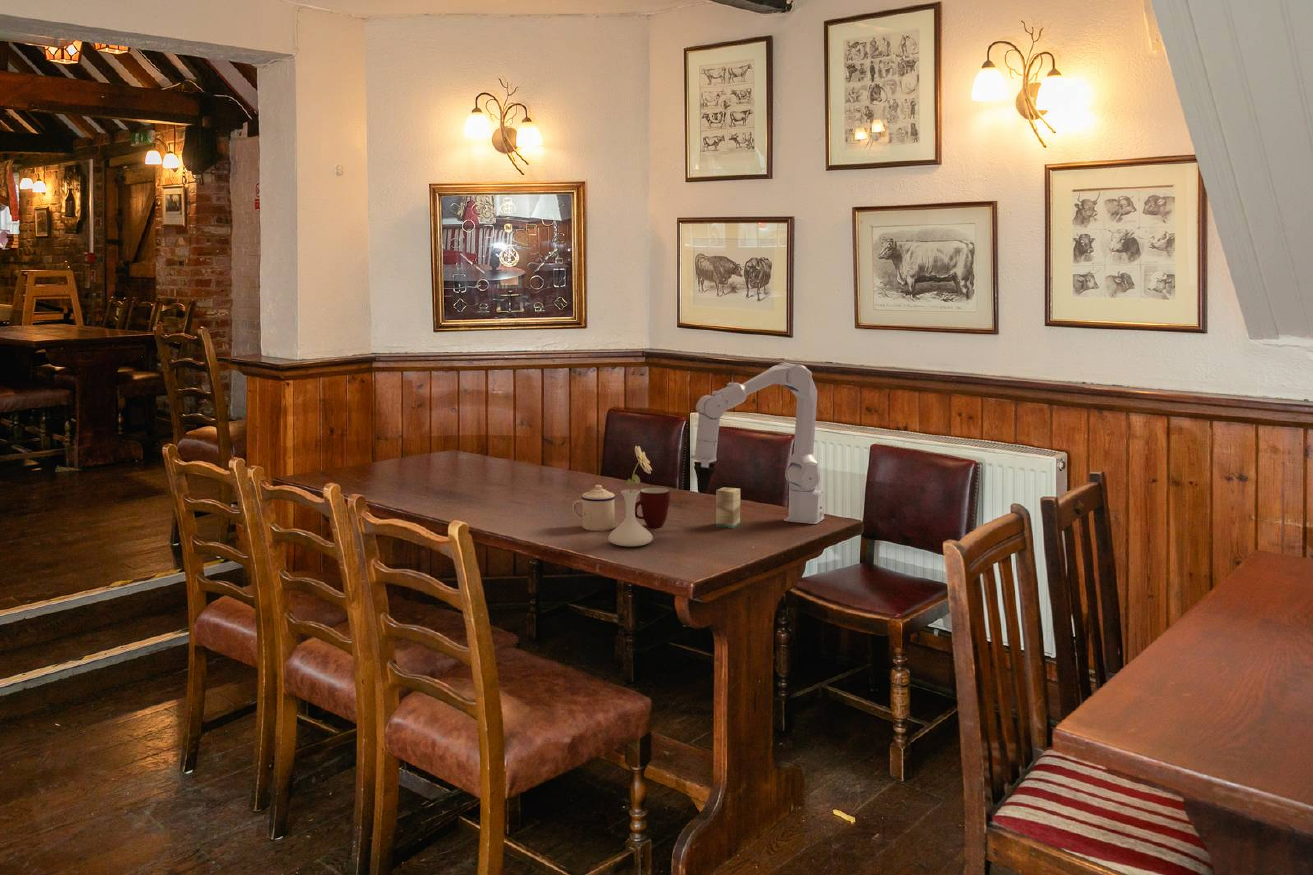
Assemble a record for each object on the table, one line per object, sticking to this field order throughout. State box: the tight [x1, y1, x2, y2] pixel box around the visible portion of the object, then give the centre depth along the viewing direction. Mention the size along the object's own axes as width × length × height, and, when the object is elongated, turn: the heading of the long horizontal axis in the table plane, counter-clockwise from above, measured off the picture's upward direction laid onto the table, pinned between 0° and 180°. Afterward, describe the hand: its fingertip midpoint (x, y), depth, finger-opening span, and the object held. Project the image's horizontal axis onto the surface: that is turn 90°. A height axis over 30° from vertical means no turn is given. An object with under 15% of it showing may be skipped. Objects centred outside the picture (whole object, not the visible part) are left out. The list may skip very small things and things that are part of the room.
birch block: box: [715, 486, 741, 529], centre depth 298 cm, size 5×5×10 cm
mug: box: [635, 487, 671, 529], centre depth 296 cm, size 11×8×10 cm
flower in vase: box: [608, 445, 654, 547], centre depth 276 cm, size 13×11×25 cm
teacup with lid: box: [572, 484, 616, 532], centre depth 296 cm, size 12×9×12 cm
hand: (701, 490), depth 294 cm, fingers open, 7 cm apart
